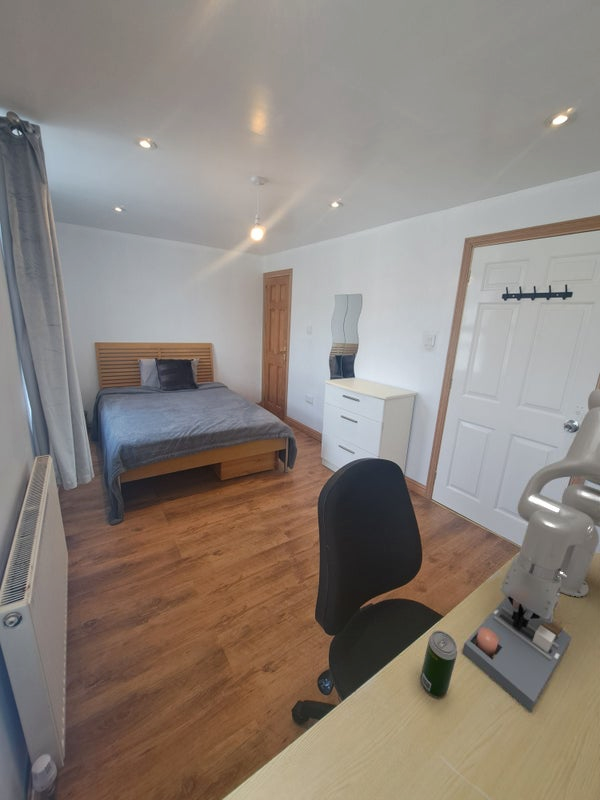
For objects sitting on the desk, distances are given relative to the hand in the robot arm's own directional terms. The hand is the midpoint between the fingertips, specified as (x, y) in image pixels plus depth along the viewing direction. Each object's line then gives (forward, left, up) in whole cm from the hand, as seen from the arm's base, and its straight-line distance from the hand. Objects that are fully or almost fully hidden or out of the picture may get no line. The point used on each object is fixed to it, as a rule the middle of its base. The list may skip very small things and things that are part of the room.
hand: (518, 624), depth 78 cm
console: (+3, +2, -4) cm, 5 cm away
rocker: (-6, +5, 0) cm, 8 cm away
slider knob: (0, +5, 0) cm, 5 cm away
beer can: (+27, -5, -4) cm, 28 cm away
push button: (+11, -3, -2) cm, 11 cm away
